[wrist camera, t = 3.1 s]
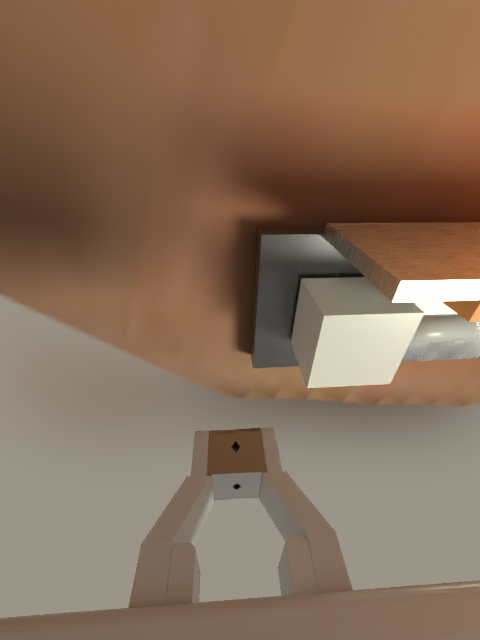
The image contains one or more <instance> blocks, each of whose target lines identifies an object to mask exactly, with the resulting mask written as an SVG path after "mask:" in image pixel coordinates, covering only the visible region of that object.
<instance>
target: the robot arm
mask: <svg viewBox="0 0 480 640" xmlns="http://www.w3.org/2000/svg"><path fill="white" fill-rule="evenodd" d="M236 498H260V501H261V502H262V504H263V506H264V507H265V509H266V511H267V512H268V514H269V516H270V517H271V519H272V521H273V522H274V524H275V526H276V527H277V529H278V530H279V532H280V534H281V535H282V537H283V539H284V540H285V542H286V543H285V546H284V549H283V552H282V556H281V559H280V562H279V565H278V571H279V580H280V588H281V596H276V597H262V598H249V599H237V600H224V601H212V602H199V593H200V569H199V565H198V560H197V555H196V550H195V547H194V546H193V545H192V544H193V542H194V540H195V538H196V536H197V535H198V533H199V531H200V529H201V526H202V524H203V523H204V521H205V519H206V516H207V515H208V513H209V511H210V509H211V507H212V505H213V503H214V500H225V499H236ZM0 640H480V581H467V582H454V583H442V584H428V585H415V586H403V587H390V588H377V589H364V590H352V586H351V583H350V579H349V576H348V573H347V569H346V566H345V562H344V559H343V555H342V552H341V549H340V545H339V542H338V538H337V535H336V532H335V531H334V529H333V528H332V527H331V526H330V524H329V523H328V522H327V521H326V520H325V518H324V517H323V516H322V515H321V514H320V512H319V511H318V510H317V509H316V507H315V506H314V505H313V504H312V502H311V501H310V500H309V499H308V498H307V497H306V495H305V494H304V493H303V491H302V490H301V489H300V488H299V486H298V485H297V484H296V483H295V482H294V480H293V479H292V478H291V477H290V475H289V474H288V473H287V472H282V467H281V461H280V456H279V450H278V445H277V440H276V435H275V430H274V428H251V429H235V430H214V431H196V432H195V437H194V449H193V459H192V470H191V476H189V477H186V479H185V480H184V482H183V483H182V485H181V486H180V488H179V489H178V491H177V492H176V494H175V495H174V497H173V498H172V500H171V501H170V502H169V504H168V506H167V507H166V508H165V510H164V511H163V513H162V515H161V516H160V517H159V519H158V520H157V522H156V523H155V525H154V526H153V528H152V529H151V531H150V532H149V534H148V535H147V536H146V538H145V540H144V541H143V543H142V544H141V548H140V553H139V559H138V563H137V568H136V573H135V578H134V583H133V588H132V593H131V598H130V603H129V608H122V609H110V610H96V611H84V612H71V613H59V614H45V615H32V616H19V617H7V618H0Z"/></svg>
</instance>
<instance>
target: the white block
mask: <svg viewBox="0 0 480 640" xmlns="http://www.w3.org/2000/svg"><path fill="white" fill-rule="evenodd" d="M433 303H434V301H428V302H391V301H390V300H389V299H388V298H387V297H386V296H385V295H384V294H383V293H382V292H381V291H380V290H379V289H378V288H376V287H375V286H374V285H373V284H372V283H371V282H370V281H369V280H368V279H367V278H366V277H345V278H301V284H300V290H299V296H298V302H297V309H296V315H295V321H294V327H293V334H292V340H291V345H292V348H293V351H294V354H295V356H296V359H297V362H298V364H299V367H300V370H301V373H302V375H303V378H304V381H305V383H306V386H307V388H319V387H338V386H358V385H377V384H390V383H391V381H392V379H393V377H394V375H395V373H396V371H397V369H398V367H399V365H400V363H401V360H402V358H403V356H404V354H405V352H406V350H407V348H408V346H409V344H410V342H424V341H449V340H468V339H471V338H472V337H473V336H474V335H475V333H476V330H477V325H476V322H468V321H467V320H466V319H464V318H463V317H462V316H460V315H459V314H439V315H424V313H425V312H423V311H422V310H421V309H420V308H419V307H432V305H433Z"/></svg>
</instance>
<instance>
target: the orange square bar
mask: <svg viewBox="0 0 480 640" xmlns="http://www.w3.org/2000/svg"><path fill="white" fill-rule="evenodd" d="M441 302H442V303H444V304H445V305H447V306H448V307H449V308H451V309H452V310H453V311H455V312H456V313H458V314H459V315H460V316H462V317H463V318H464V319H466V320H467V321H468V322H478V321H480V300H464V301H441Z"/></svg>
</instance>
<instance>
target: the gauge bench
mask: <svg viewBox="0 0 480 640" xmlns="http://www.w3.org/2000/svg"><path fill="white" fill-rule="evenodd" d="M345 277H366V278H367V279H368V280H369V281H370V282H371V283H372V284H373V285H374V286H375V287H376V288H378V289H379V290H380V291H381V292H382V293H383V294H384V295H385V296H386V297H387V298H388V299H389V300H390V301H391V302H428V301H434V303H433V305H432V307H419V308H420V309H421V310H422V311H423V312H425V313H424V315H439V314H458V313H456V312H455V311H453V310H452V309H451V308H449V307H448V306H447V305H445V304H444V303H442V302H441V301H464V300H480V222H466V223H326V227H258V231H257V250H256V269H255V288H254V306H253V325H252V344H251V358H252V364H253V368H267V367H289V366H299V364H298V362H297V359H296V356H295V354H294V351H293V348H292V345H291V340H292V334H293V327H294V321H295V315H296V309H297V302H298V296H299V290H300V284H301V278H345ZM476 325H477V330H476V333H475V335H474V336H473V337H472V338H471V339H468V340H449V341H424V342H410V344H409V346H408V348H407V350H406V352H405V354H404V356H403V358H402V360H401V361H422V360H444V359H466V358H480V321H478V322H476Z"/></svg>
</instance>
